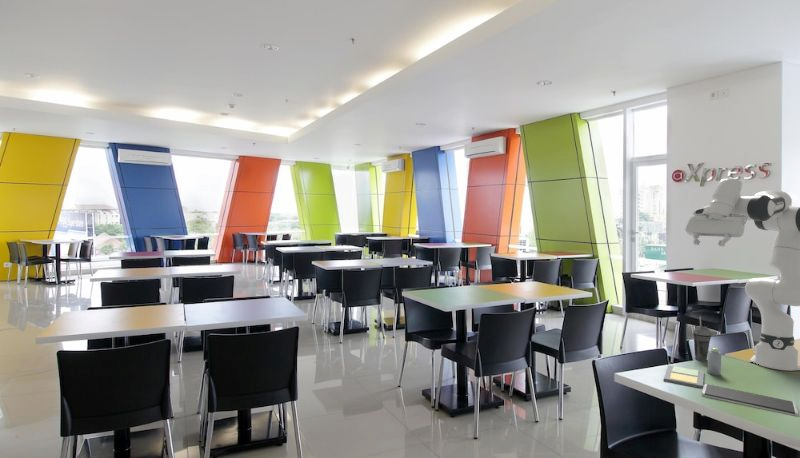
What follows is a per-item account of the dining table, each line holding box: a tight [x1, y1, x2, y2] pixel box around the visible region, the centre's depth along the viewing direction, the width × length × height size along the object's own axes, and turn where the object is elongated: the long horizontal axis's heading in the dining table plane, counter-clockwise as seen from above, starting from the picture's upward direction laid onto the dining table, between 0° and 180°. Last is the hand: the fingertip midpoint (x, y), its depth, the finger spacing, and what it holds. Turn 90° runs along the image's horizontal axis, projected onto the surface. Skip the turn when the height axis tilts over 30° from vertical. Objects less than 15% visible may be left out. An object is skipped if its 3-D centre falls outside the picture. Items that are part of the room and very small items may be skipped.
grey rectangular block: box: [707, 347, 722, 376], centre depth 197 cm, size 5×5×11 cm
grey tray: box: [701, 383, 800, 417], centre depth 167 cm, size 13×27×2 cm, turn 53°
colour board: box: [663, 364, 705, 389], centre depth 191 cm, size 22×13×1 cm, turn 146°
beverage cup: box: [692, 315, 712, 361], centre depth 218 cm, size 7×7×20 cm
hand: (708, 244), depth 184 cm, fingers open, 8 cm apart
